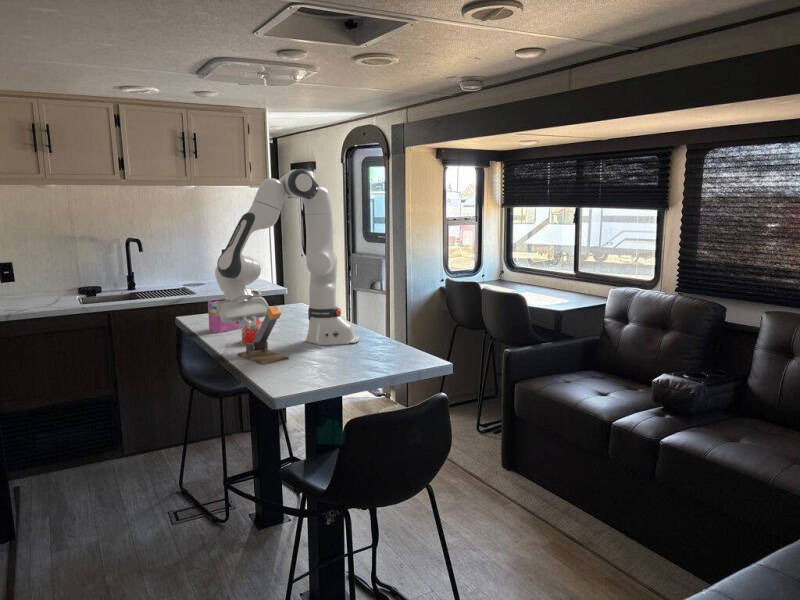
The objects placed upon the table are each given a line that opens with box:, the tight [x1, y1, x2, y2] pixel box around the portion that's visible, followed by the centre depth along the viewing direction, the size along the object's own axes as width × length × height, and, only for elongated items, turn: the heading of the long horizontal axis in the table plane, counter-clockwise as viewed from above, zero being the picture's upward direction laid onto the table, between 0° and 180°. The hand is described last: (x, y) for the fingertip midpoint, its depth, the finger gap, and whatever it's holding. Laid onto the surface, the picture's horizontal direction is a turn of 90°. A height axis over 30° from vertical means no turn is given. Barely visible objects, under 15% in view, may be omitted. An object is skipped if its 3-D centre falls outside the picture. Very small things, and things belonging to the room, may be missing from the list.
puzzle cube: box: [241, 320, 269, 344], centre depth 249 cm, size 8×8×8 cm
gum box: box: [207, 298, 260, 333], centre depth 275 cm, size 24×8×14 cm, turn 143°
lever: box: [251, 305, 282, 351], centre depth 222 cm, size 4×4×22 cm
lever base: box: [237, 340, 290, 365], centre depth 225 cm, size 18×11×5 cm, turn 45°
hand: (252, 327), depth 228 cm, fingers closed
